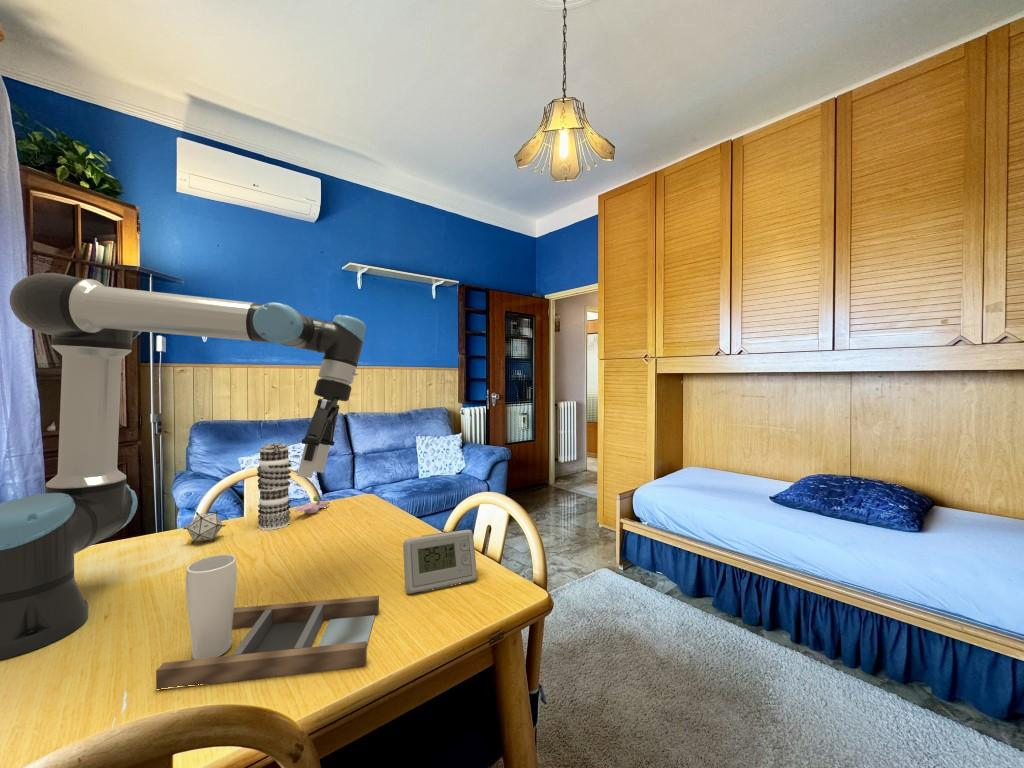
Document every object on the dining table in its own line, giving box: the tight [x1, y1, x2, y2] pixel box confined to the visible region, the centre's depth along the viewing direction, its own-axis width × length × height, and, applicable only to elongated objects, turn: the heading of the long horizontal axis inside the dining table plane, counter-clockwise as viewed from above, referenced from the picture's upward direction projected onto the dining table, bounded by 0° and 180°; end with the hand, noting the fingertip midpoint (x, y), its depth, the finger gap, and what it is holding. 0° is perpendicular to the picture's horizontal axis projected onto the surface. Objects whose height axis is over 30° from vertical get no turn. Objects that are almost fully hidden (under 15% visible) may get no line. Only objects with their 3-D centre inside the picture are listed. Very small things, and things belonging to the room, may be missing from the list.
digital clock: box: [402, 529, 478, 595], centre depth 90 cm, size 16×9×11 cm, turn 103°
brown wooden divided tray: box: [155, 595, 380, 690], centre depth 69 cm, size 29×16×3 cm, turn 100°
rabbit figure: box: [295, 494, 330, 514], centre depth 136 cm, size 6×6×15 cm
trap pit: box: [231, 605, 324, 656], centre depth 69 cm, size 10×12×3 cm
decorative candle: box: [256, 442, 292, 531], centre depth 124 cm, size 9×9×25 cm
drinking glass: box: [185, 553, 238, 660], centre depth 67 cm, size 7×7×15 cm
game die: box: [182, 510, 227, 545], centre depth 112 cm, size 9×8×10 cm
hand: (311, 474), depth 90 cm, fingers open, 13 cm apart
